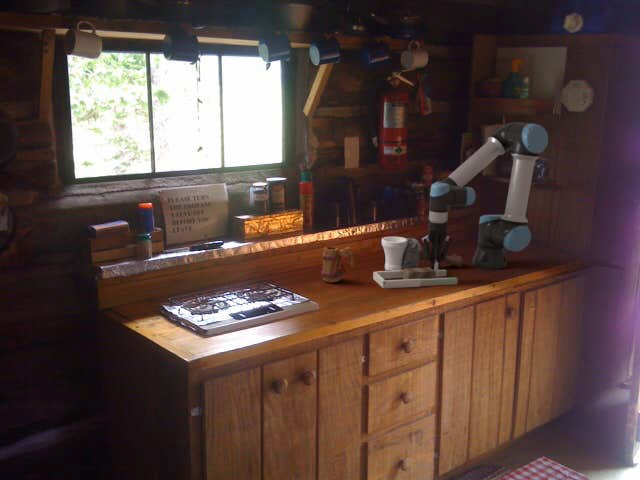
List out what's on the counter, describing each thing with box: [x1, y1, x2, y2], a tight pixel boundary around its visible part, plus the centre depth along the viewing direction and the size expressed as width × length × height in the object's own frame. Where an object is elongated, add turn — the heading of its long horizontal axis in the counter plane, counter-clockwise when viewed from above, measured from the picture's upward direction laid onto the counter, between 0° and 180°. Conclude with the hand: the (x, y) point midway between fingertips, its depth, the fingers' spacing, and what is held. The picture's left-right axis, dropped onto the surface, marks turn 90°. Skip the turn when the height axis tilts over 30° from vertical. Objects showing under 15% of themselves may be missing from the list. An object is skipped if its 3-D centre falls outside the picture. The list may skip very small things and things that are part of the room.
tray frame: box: [372, 270, 421, 289], centre depth 287 cm, size 16×14×3 cm
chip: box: [418, 266, 437, 279], centre depth 290 cm, size 6×6×5 cm
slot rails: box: [420, 269, 458, 287], centre depth 291 cm, size 16×13×2 cm
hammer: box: [401, 237, 463, 270], centre depth 307 cm, size 15×10×30 cm
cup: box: [381, 236, 408, 271], centre depth 302 cm, size 11×11×14 cm
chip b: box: [402, 267, 422, 280], centre depth 288 cm, size 6×6×5 cm
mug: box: [320, 245, 356, 283], centre depth 285 cm, size 15×8×15 cm, turn 70°
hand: (434, 276), depth 291 cm, fingers closed
